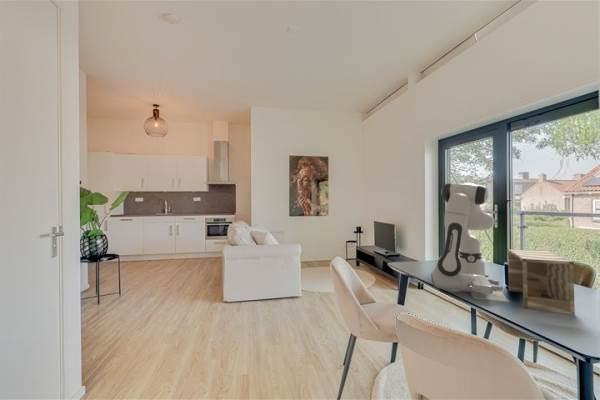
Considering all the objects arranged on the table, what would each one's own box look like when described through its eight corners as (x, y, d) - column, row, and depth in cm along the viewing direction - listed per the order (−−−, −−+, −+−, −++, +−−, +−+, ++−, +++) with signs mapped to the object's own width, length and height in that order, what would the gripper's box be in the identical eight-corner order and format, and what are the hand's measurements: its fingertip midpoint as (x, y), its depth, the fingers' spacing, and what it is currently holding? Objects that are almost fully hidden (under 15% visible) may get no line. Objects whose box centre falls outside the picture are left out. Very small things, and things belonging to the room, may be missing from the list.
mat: (469, 289, 144) (469, 289, 144) (502, 293, 138) (502, 292, 138) (473, 298, 132) (473, 297, 132) (509, 302, 126) (509, 301, 126)
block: (523, 298, 131) (523, 276, 131) (537, 299, 129) (536, 277, 129) (526, 301, 126) (526, 279, 126) (540, 303, 124) (540, 280, 124)
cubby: (509, 290, 142) (507, 249, 142) (549, 294, 135) (548, 251, 135) (524, 308, 118) (523, 258, 118) (574, 314, 111) (573, 261, 111)
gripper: (469, 281, 129) (505, 285, 123) (464, 271, 148) (496, 273, 142) (469, 295, 129) (505, 299, 123) (465, 283, 148) (496, 286, 142)
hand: (500, 285), depth 133 cm, fingers open, 8 cm apart
